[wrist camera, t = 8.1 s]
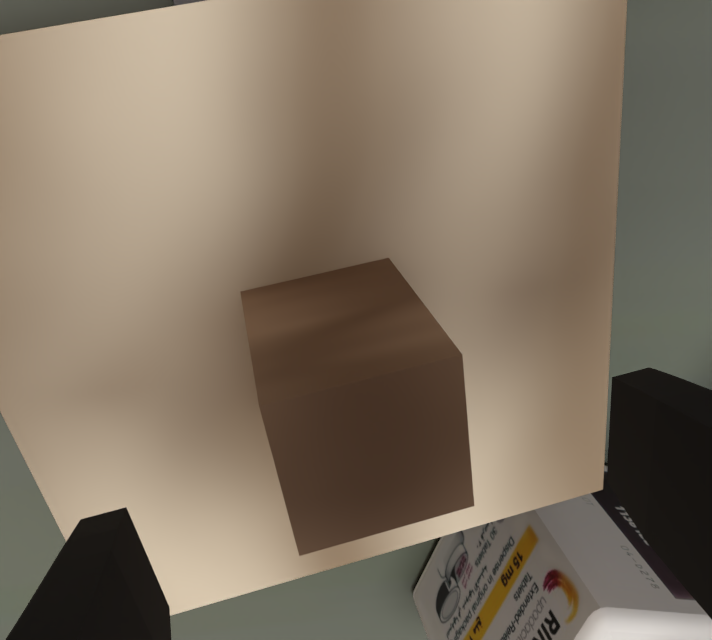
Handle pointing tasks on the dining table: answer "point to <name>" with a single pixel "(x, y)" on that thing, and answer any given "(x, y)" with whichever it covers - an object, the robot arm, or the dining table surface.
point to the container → (556, 579)
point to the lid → (309, 273)
